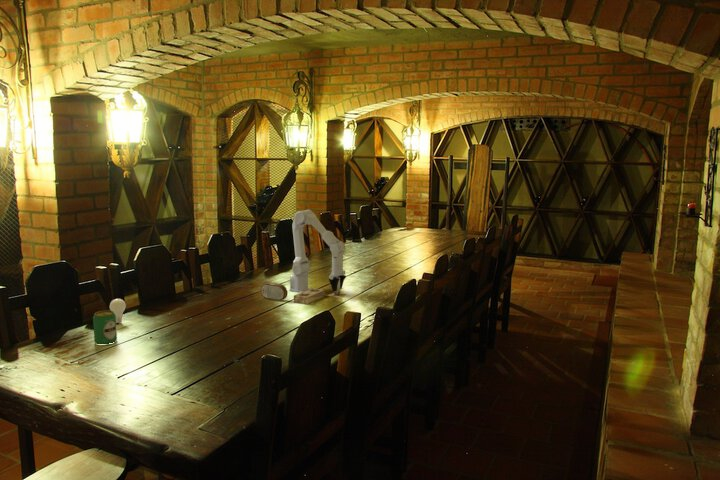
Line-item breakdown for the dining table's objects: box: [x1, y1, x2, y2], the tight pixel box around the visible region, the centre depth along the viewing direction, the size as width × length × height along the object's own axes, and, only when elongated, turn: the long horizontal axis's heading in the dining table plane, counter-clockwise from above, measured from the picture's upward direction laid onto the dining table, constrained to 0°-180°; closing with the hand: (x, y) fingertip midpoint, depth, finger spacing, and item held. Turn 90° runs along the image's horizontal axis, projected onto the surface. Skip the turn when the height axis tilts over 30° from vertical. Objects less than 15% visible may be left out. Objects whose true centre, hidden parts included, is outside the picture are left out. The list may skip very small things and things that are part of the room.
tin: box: [260, 281, 288, 301], centre depth 280 cm, size 15×3×8 cm, turn 65°
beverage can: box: [92, 309, 118, 344], centre depth 214 cm, size 8×8×12 cm
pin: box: [333, 277, 341, 296], centre depth 289 cm, size 3×3×10 cm
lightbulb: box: [109, 298, 127, 324], centre depth 237 cm, size 6×6×11 cm
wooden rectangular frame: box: [293, 287, 326, 305], centre depth 281 cm, size 8×18×4 cm, turn 154°
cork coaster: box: [326, 292, 348, 299], centre depth 289 cm, size 8×8×1 cm
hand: (337, 290), depth 289 cm, fingers open, 5 cm apart
